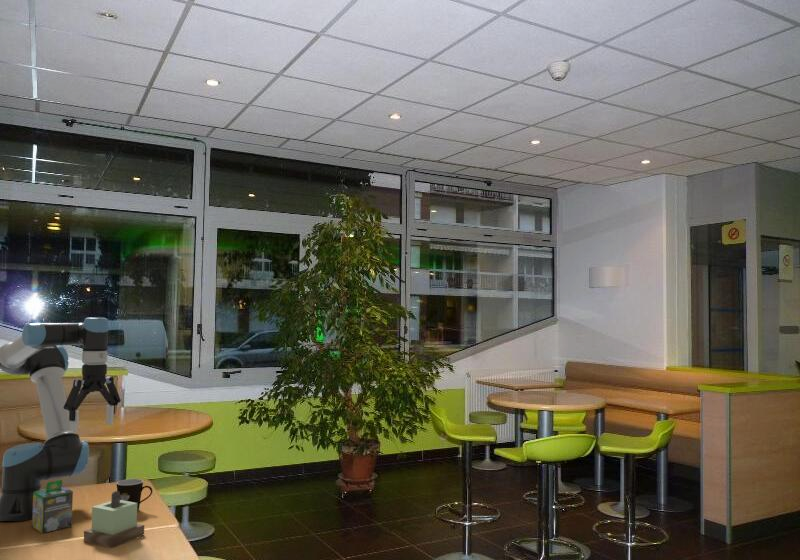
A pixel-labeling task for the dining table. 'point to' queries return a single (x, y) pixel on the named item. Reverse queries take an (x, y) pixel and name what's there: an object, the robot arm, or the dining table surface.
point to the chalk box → (52, 508)
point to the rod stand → (116, 538)
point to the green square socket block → (114, 517)
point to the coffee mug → (132, 490)
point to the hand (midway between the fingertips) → (92, 427)
